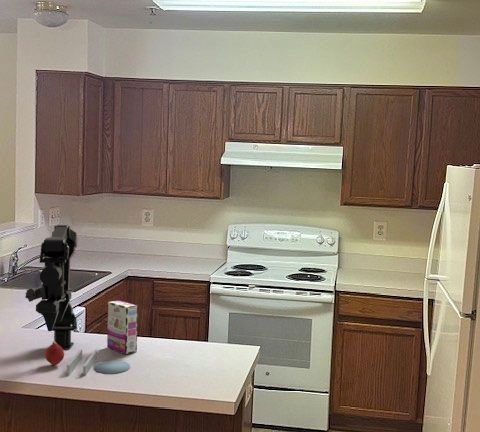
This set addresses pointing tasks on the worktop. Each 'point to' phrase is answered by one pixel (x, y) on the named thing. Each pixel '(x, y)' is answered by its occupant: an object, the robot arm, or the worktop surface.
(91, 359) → the low walls
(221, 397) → the worktop surface
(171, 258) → the worktop surface
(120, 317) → the candy bar box
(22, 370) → the worktop surface
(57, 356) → the onion
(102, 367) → the mat
